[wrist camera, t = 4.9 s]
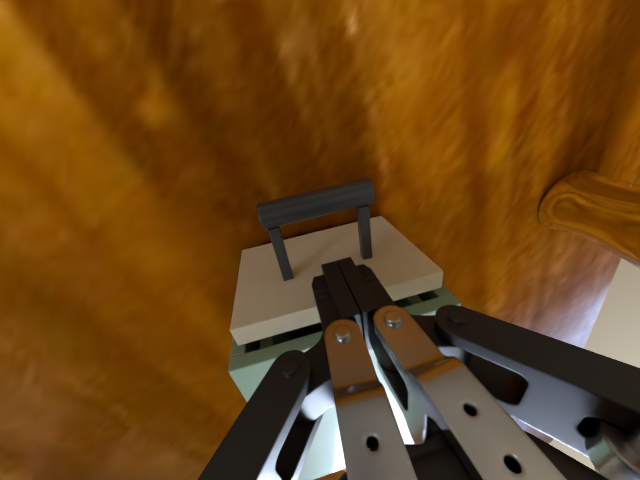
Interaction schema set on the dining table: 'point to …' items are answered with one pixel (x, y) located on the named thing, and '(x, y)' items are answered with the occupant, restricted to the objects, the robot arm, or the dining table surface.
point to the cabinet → (326, 446)
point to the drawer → (313, 250)
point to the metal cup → (595, 212)
